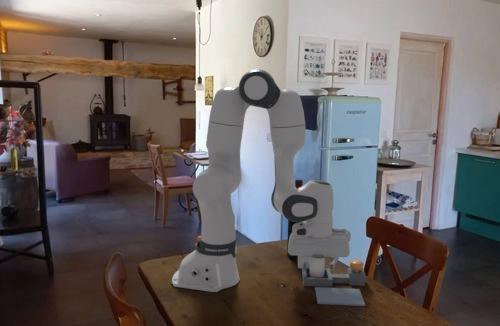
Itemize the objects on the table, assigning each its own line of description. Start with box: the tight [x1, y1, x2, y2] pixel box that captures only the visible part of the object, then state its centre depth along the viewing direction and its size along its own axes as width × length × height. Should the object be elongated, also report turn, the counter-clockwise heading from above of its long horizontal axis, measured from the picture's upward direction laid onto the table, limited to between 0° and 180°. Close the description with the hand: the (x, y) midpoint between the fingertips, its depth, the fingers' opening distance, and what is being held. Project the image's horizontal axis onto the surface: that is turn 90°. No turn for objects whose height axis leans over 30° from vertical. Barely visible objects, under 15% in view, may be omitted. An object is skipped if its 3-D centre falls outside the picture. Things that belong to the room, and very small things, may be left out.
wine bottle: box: [286, 179, 306, 260], centre depth 161 cm, size 8×8×30 cm
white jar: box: [308, 254, 326, 278], centre depth 140 cm, size 5×5×10 cm
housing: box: [301, 267, 366, 288], centre depth 140 cm, size 20×9×4 cm, turn 85°
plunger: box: [349, 259, 364, 272], centre depth 139 cm, size 4×4×6 cm
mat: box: [314, 286, 366, 307], centre depth 129 cm, size 14×10×1 cm
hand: (317, 267), depth 140 cm, fingers open, 8 cm apart
